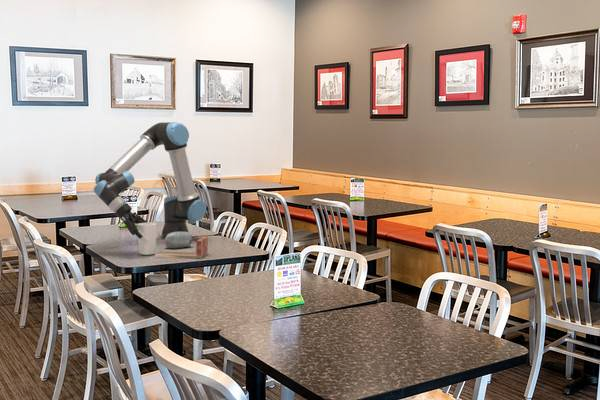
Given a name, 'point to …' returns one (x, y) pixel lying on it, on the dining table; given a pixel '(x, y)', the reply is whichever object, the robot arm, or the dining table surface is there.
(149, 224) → the cup
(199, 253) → the board
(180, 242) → the grey stone
